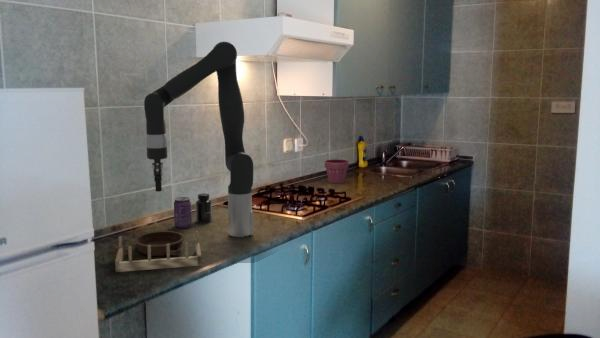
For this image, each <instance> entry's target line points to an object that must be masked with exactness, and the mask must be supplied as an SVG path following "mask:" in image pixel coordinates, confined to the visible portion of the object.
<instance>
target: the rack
mask: <svg viewBox="0 0 600 338" xmlns="http://www.w3.org/2000/svg"><path fill="white" fill-rule="evenodd" d="M122 238H123V237H122V236H121V235H119V236H118V250H117V252H116V256H115V261H114V266H115V267H114V268H115V273H125V272H135V271H145V270H148V271H149V270H160V269H172V268H186V267H200V266H202V264H203V263H202V252H201V246H200V241H199V238H200V237H199V231H197V230H196V231H195V243H194V244H195V255H194V256H193V255H192V256H191V255H190V256H189V242H185V243H184V251H185V253H184V254H185V256H179V257H171V255H170V245H169V244H166V249H167V255H166V257H165V258H153V259H152V256H151V245H147V248H148V255H147V259H139V260H133V256H132V255H133V253H132V252H133V250H132V245H131V246H128V247H127V251H128V253H127V254H128V260H126V261H125V260H124V246H123V239H122Z"/></svg>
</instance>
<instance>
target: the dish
mask: <svg viewBox="0 0 600 338" xmlns="http://www.w3.org/2000/svg"><path fill="white" fill-rule="evenodd" d="M185 238H186V237H185V235H184V234H182V233H180V232H176V231H171V230H161V231H151V232H147V233H143V234H141V235H138V236H136V237H135V238H134V240H133V241H134V243H135V244H136V247H137V250H138V252H139V253H141V254H142V255H147V256H148V248H147V245H151V257H152V256H153V257H163V256H164V257H165V256H166V257H167V249H166V244H169V245H170V256H178V255H180V254H181V247H182V245H183V241H184V240H186V239H185Z"/></svg>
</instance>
